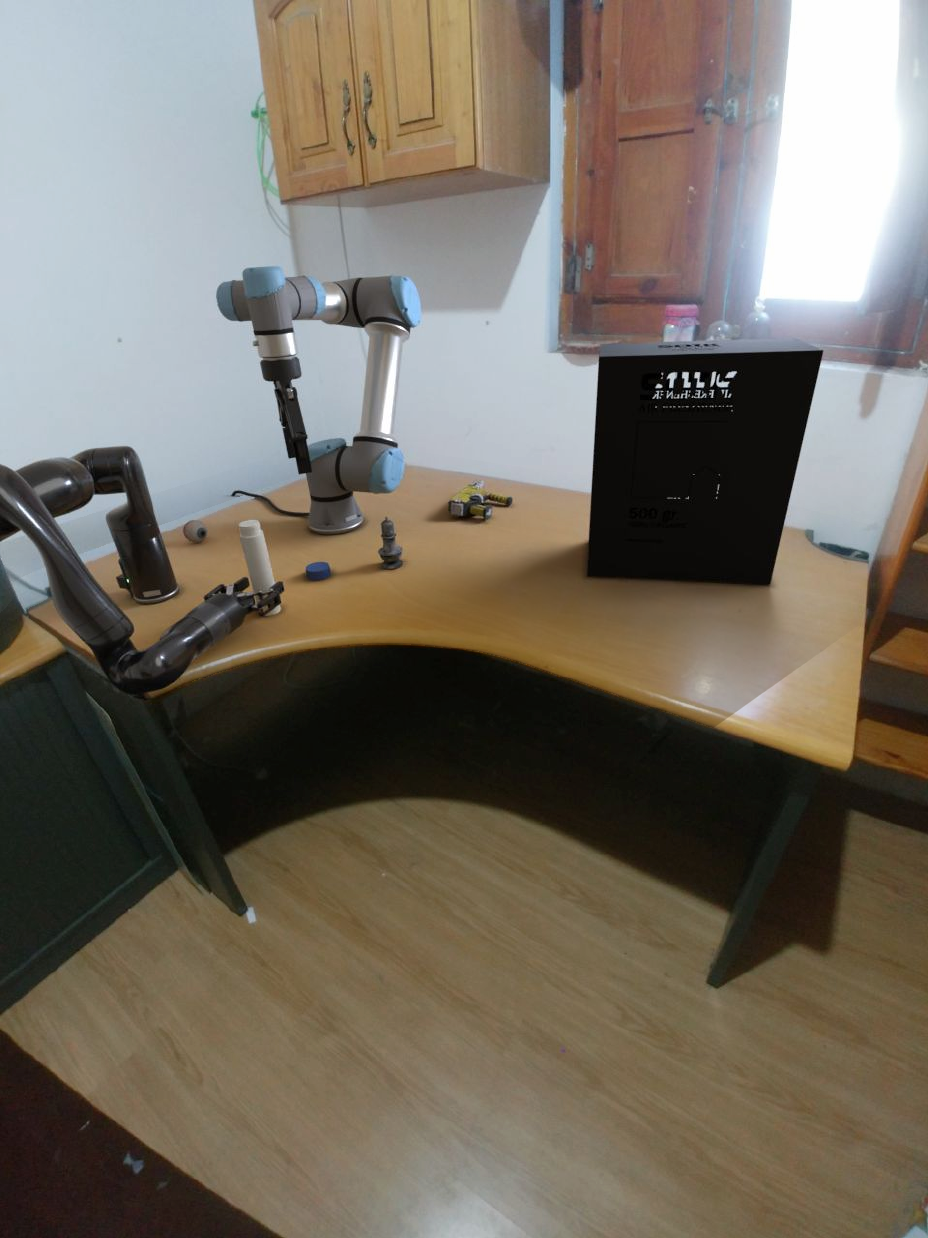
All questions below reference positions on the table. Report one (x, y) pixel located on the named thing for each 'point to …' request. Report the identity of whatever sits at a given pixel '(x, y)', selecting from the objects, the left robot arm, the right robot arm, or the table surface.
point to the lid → (318, 571)
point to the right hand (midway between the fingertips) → (299, 464)
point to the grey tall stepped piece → (389, 546)
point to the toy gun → (475, 501)
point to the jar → (257, 558)
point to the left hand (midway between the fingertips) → (264, 583)
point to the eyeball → (195, 531)
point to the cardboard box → (696, 457)
